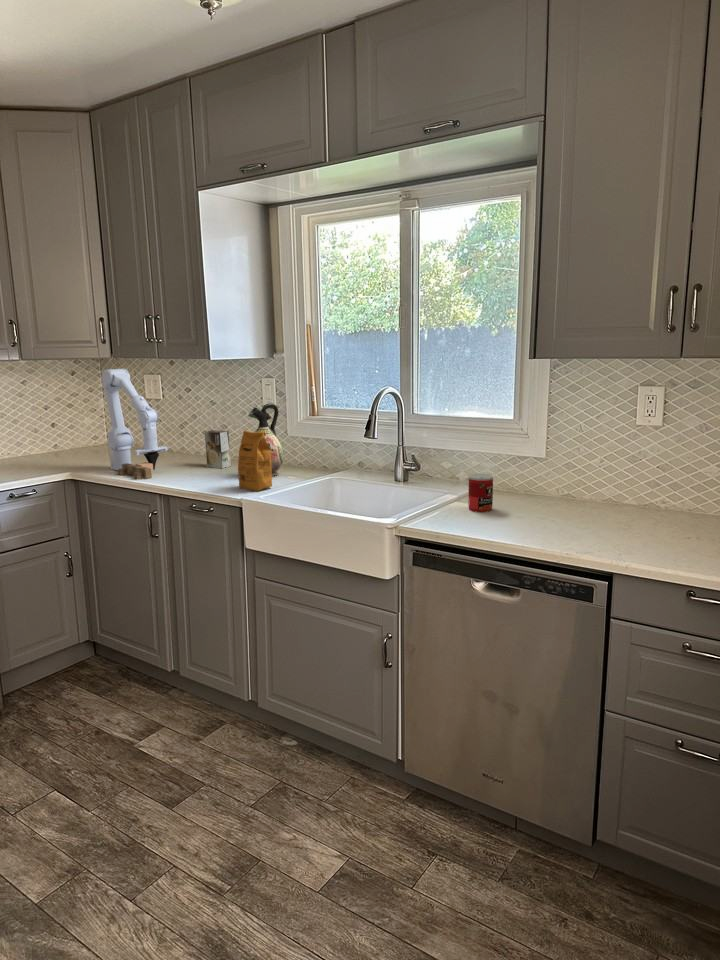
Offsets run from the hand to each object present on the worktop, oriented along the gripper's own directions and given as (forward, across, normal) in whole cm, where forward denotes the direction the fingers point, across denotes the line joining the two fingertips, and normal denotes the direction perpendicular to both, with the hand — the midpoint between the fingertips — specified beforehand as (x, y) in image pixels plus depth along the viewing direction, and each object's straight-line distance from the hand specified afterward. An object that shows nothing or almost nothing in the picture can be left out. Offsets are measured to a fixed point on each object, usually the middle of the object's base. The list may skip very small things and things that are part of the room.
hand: (152, 469), depth 296 cm
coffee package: (+2, +8, -60) cm, 61 cm away
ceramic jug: (+2, +27, -44) cm, 52 cm away
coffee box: (+2, +26, -11) cm, 29 cm away
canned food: (+1, +34, -144) cm, 148 cm away
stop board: (+1, -9, 0) cm, 9 cm away
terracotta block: (+1, -4, 0) cm, 4 cm away
